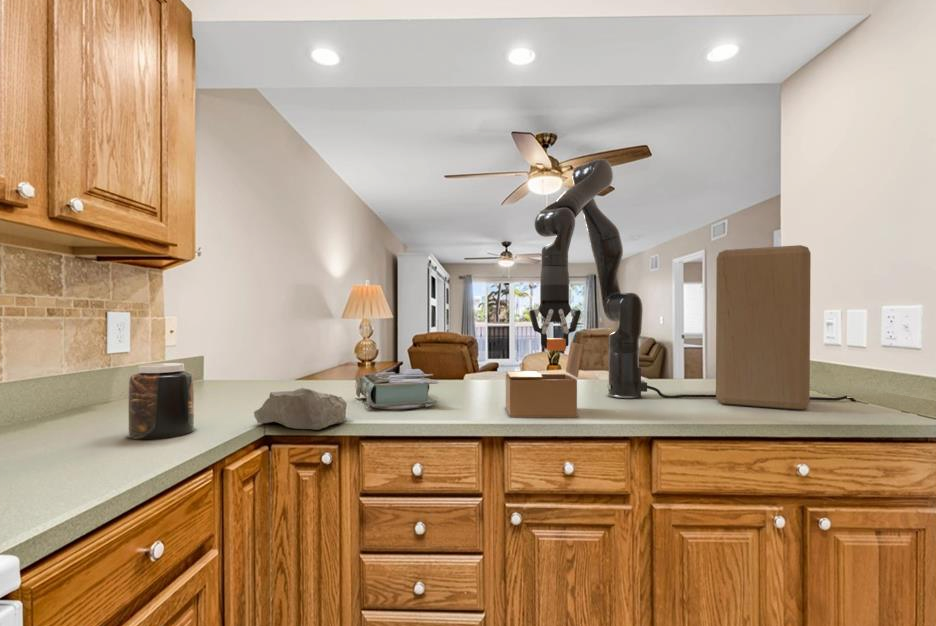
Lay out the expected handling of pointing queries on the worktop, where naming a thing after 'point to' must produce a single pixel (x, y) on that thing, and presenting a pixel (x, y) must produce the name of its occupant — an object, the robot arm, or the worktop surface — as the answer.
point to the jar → (161, 401)
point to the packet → (556, 344)
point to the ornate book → (396, 389)
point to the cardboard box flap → (574, 359)
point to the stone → (302, 409)
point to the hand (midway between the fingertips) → (554, 347)
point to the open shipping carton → (540, 394)
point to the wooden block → (763, 327)
